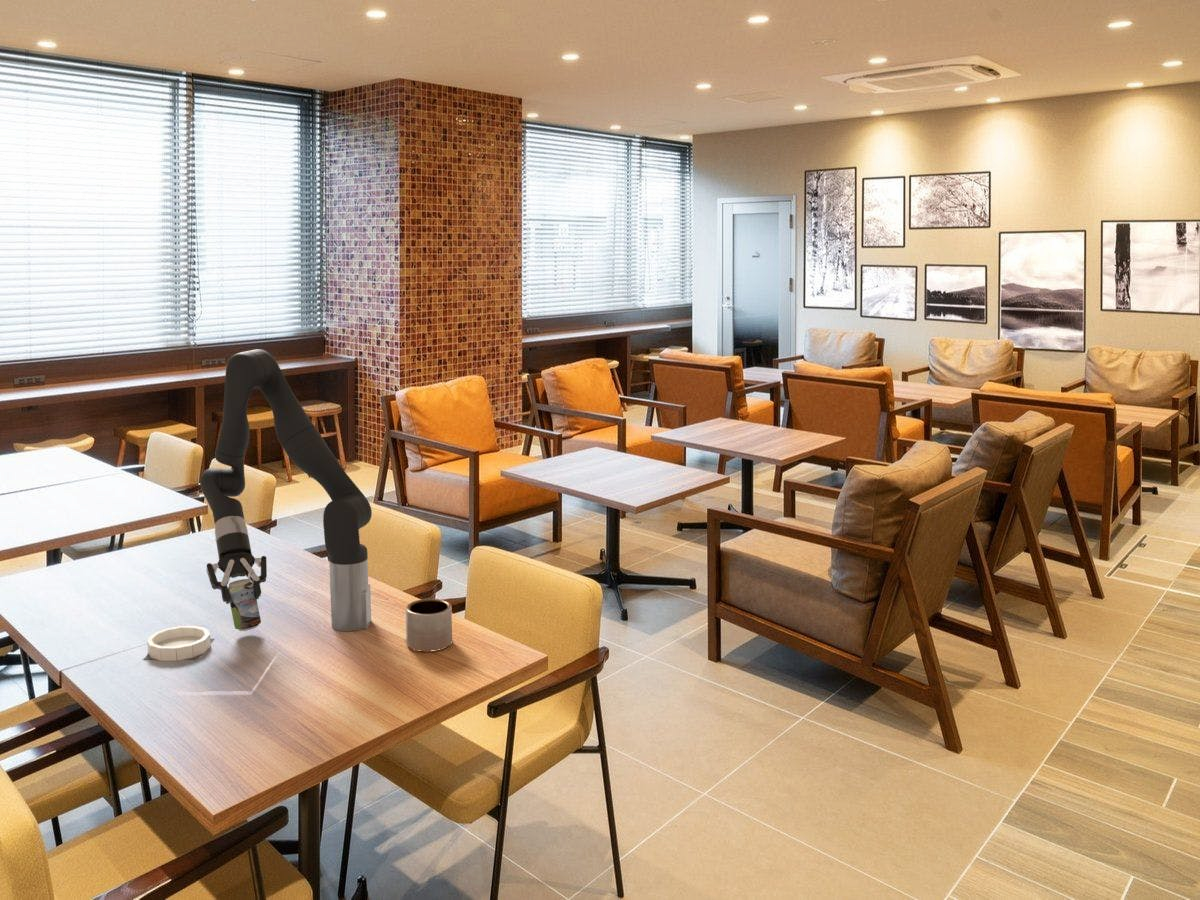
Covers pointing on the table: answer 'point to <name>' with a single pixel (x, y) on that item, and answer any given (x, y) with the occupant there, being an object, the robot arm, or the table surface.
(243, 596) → the beverage can
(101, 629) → the table surface
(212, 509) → the robot arm
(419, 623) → the planter
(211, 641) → the mat
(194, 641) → the bowl
